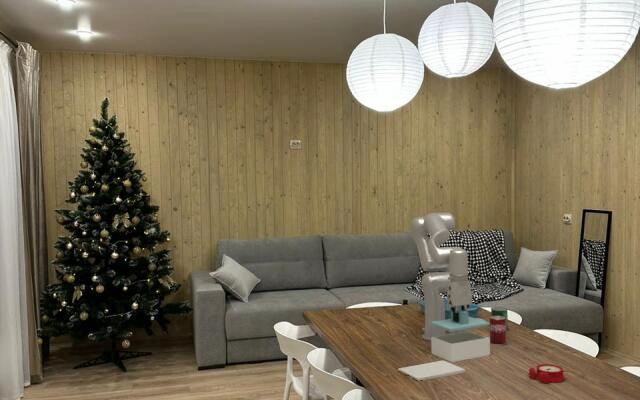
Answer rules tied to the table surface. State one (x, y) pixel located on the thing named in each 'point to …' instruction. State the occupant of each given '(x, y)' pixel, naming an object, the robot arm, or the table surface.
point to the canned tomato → (500, 313)
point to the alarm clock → (547, 373)
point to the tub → (460, 346)
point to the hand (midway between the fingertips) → (459, 320)
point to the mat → (431, 370)
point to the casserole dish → (471, 309)
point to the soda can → (498, 330)
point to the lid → (460, 322)
